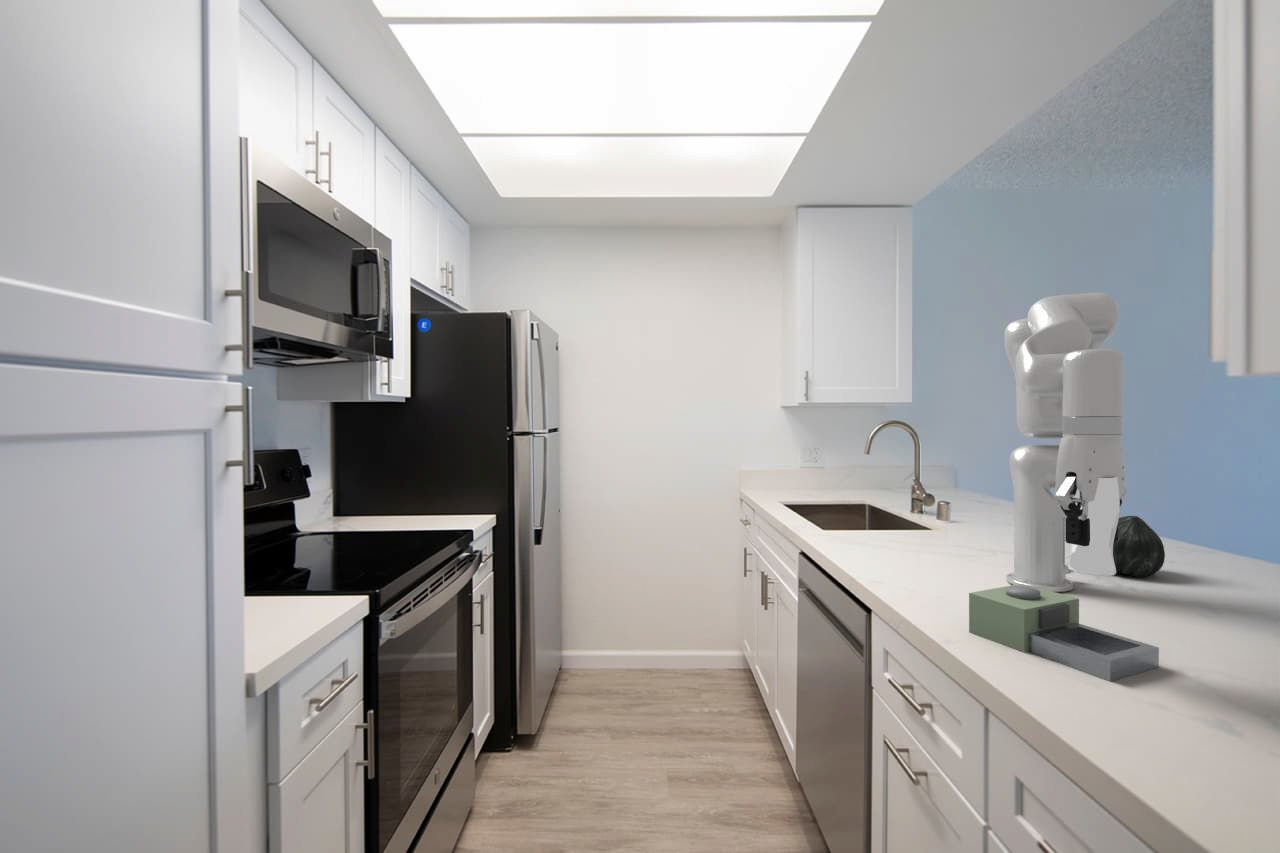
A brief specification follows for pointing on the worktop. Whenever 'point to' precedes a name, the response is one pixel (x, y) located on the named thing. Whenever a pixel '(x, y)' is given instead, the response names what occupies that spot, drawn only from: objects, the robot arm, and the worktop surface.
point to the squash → (1137, 548)
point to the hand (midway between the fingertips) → (1091, 541)
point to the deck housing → (1019, 613)
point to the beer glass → (1098, 531)
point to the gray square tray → (1094, 651)
